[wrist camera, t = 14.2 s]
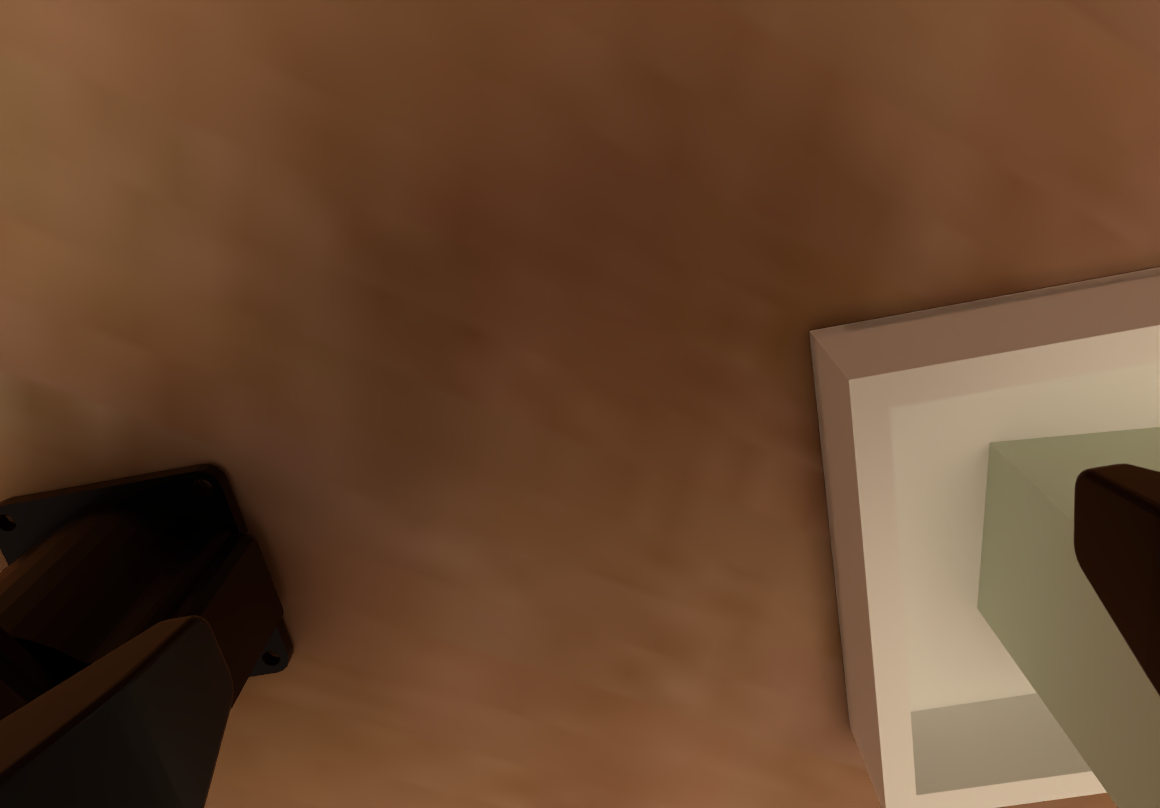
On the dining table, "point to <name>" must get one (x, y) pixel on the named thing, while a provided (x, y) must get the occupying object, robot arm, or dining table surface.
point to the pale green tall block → (1068, 605)
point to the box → (960, 520)
